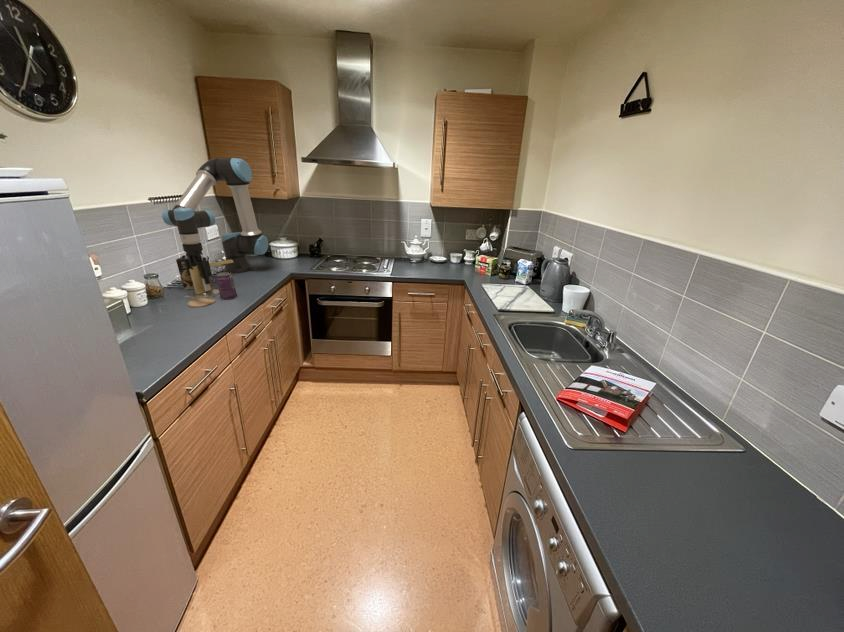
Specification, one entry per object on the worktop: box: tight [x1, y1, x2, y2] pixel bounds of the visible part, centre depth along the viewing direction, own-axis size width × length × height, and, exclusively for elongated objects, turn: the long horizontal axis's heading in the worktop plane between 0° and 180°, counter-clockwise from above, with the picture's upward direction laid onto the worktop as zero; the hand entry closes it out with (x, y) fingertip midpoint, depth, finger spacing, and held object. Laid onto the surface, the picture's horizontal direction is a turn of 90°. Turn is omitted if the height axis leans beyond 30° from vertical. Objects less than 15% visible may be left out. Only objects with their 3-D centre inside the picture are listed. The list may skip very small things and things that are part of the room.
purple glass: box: [215, 271, 238, 300], centre depth 156 cm, size 7×7×12 cm
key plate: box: [184, 288, 220, 300], centre depth 161 cm, size 12×12×1 cm
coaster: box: [187, 297, 216, 308], centre depth 151 cm, size 11×11×1 cm
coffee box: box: [175, 256, 200, 291], centre depth 168 cm, size 9×6×16 cm
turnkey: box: [189, 259, 233, 294], centre depth 163 cm, size 3×20×14 cm, turn 143°
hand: (203, 289), depth 160 cm, fingers closed on turnkey, 4 cm apart
